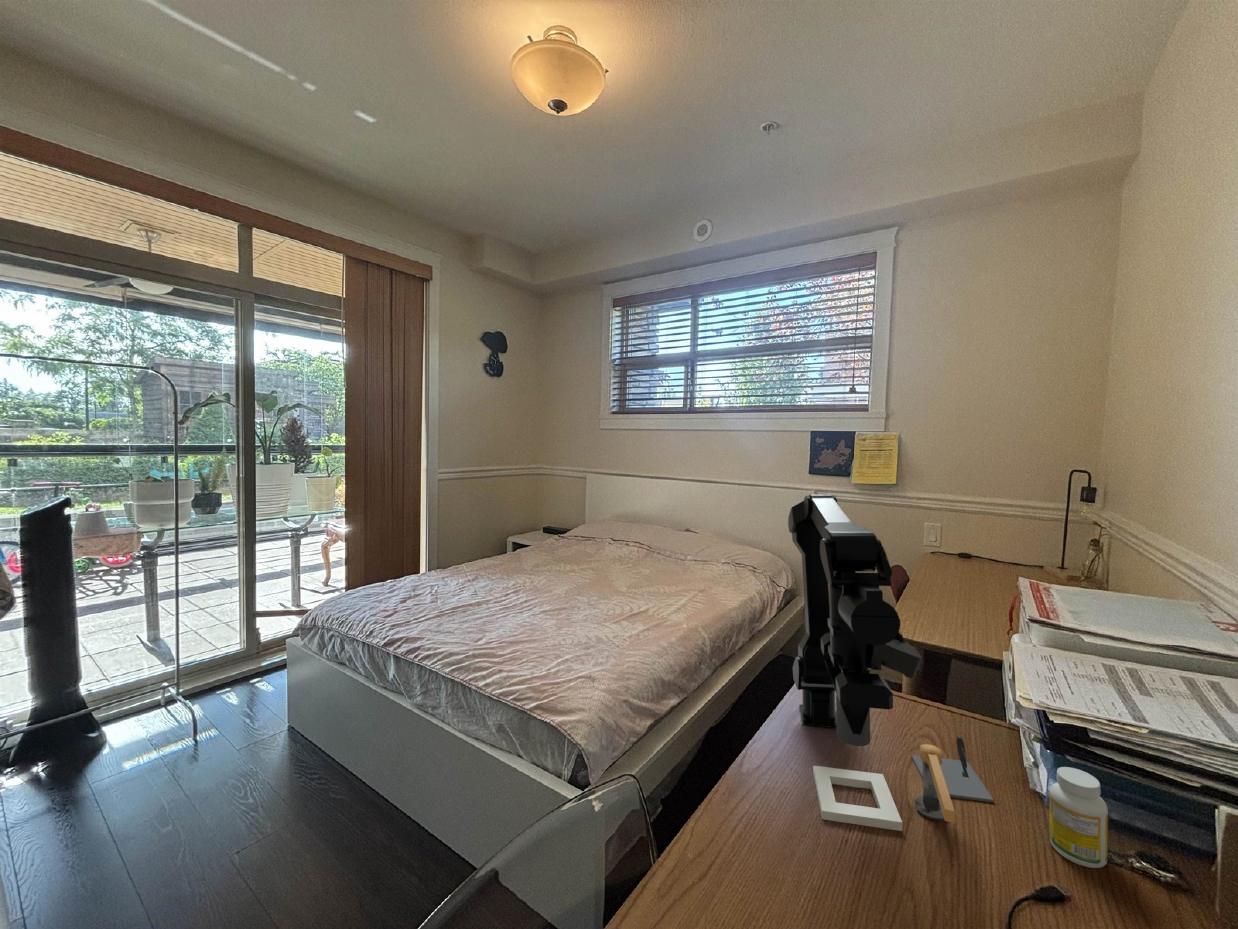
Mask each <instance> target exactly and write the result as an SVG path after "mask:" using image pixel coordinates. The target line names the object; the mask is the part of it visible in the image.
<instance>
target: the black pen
mask: <svg viewBox="0 0 1238 929" xmlns="http://www.w3.org/2000/svg"><path fill="white" fill-rule="evenodd" d="M955 740H956V748H957V752H958V757H959V760H961V764H962V767H963V770H964V772H962V775H963V777H967V781H969V779H968V778H969V777H968V774H967V770H966V768H967V762H968V761H967V758H966V750H965V745H964V740H963V738H960V737H958V736H957V737H956V739H955ZM964 774H965V775H964ZM964 780H965V779H964Z"/></svg>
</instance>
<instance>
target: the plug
mask: <svg viewBox="0 0 1238 929" xmlns="http://www.w3.org/2000/svg"><path fill="white" fill-rule="evenodd" d="M835 711H836V717H837V728H836V736H837V738H838V739H839V740H840V741H841V742H843V743H844V744H847V745H849V746H852V747H853V746H854V747H865V746H868V745H870V744H871V708H870V709H869V711H868V714H867V717H866V720H865V724H864V727H863V730H862V733H861V734H860V735H857V734H853V733H852V731H851V728H850V726H849V723H848V721H847V719H846V716H845V714H844V711H843V709H842V706H841V704H840V702H839V699H838V697H837V694H836V693H835Z"/></svg>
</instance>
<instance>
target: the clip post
mask: <svg viewBox="0 0 1238 929" xmlns="http://www.w3.org/2000/svg"><path fill="white" fill-rule="evenodd" d="M914 809H915V810H916V811H917V812H918V813H919V814H920V815H921V816H922V817H925V818H927V819H929V820H932V821H937V822H943V821H945V820H944V816H943V813H942V809H941V806H940V802H939V799H938V796H937V792H936V789H935V785H934V782H933V778H932V775H931V771H930V768H929V765H928V763H926V762H924V761H923V779H922V795H920V796H918V797H916V798H915V799H914Z"/></svg>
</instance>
